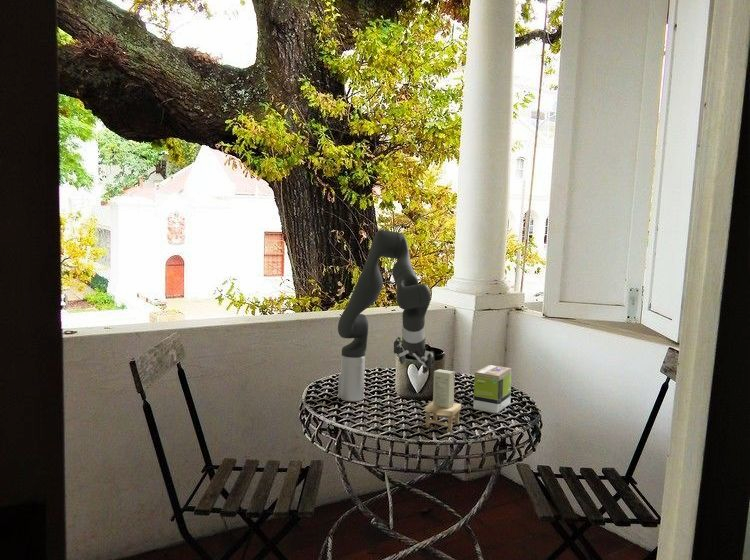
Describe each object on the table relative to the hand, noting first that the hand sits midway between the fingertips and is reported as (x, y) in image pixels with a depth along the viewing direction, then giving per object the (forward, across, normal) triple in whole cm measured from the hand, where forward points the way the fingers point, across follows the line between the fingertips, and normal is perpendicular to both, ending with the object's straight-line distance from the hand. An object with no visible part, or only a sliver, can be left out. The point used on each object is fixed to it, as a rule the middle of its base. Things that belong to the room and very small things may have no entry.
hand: (413, 366), depth 217 cm
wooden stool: (+20, -13, +4) cm, 24 cm away
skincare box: (+14, -11, 0) cm, 18 cm away
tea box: (+36, -21, -24) cm, 48 cm away
